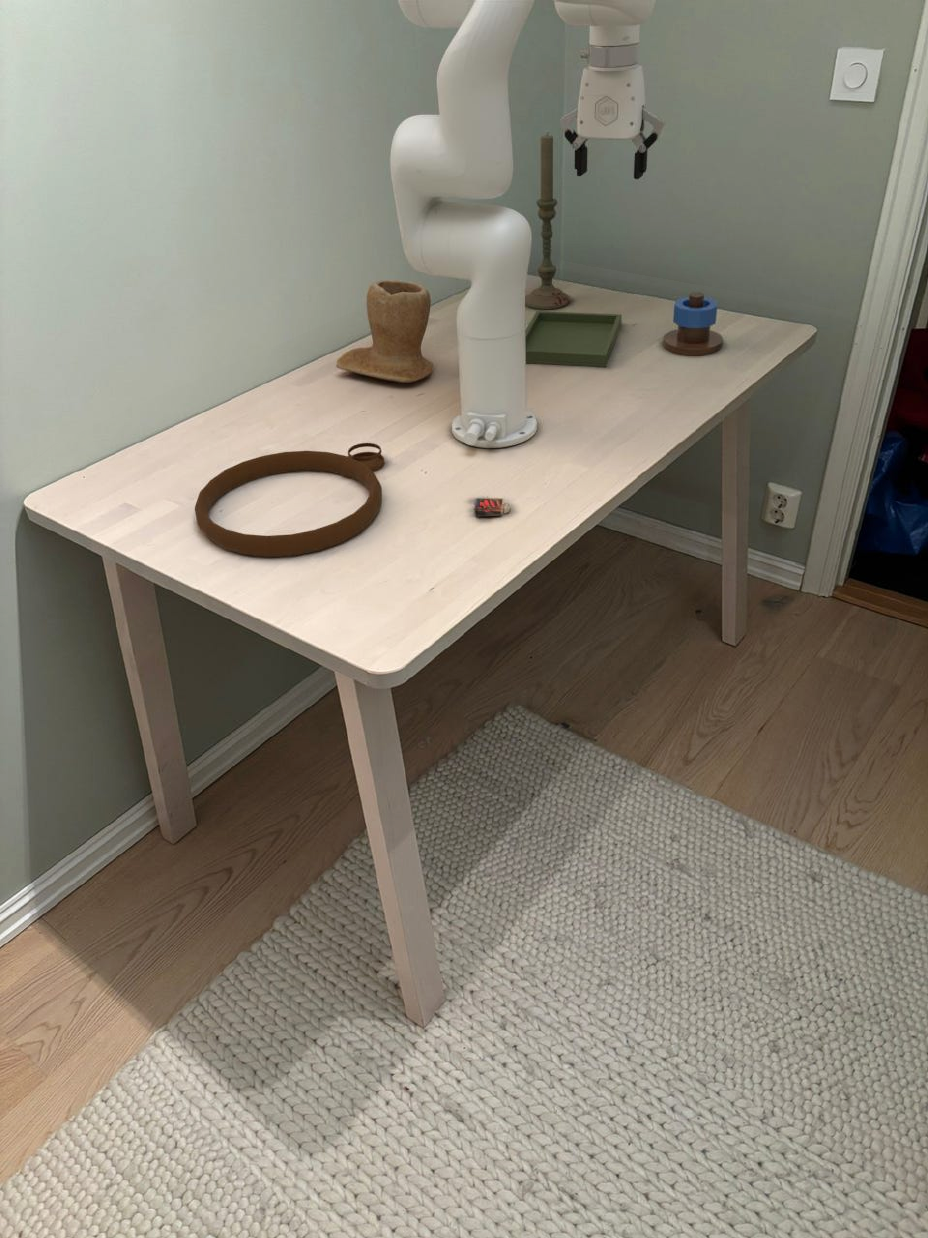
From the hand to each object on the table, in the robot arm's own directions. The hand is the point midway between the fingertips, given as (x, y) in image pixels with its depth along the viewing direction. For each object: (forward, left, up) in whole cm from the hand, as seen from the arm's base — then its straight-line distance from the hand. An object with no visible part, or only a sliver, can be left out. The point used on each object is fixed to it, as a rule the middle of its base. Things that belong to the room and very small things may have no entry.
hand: (609, 175), depth 164 cm
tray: (-7, +5, -26) cm, 27 cm away
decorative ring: (-68, +30, -26) cm, 79 cm away
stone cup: (-24, +32, -26) cm, 48 cm away
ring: (-5, -16, -22) cm, 27 cm away
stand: (-5, -16, -26) cm, 31 cm away
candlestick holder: (+14, +13, -26) cm, 33 cm away
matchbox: (-66, +5, -26) cm, 71 cm away
